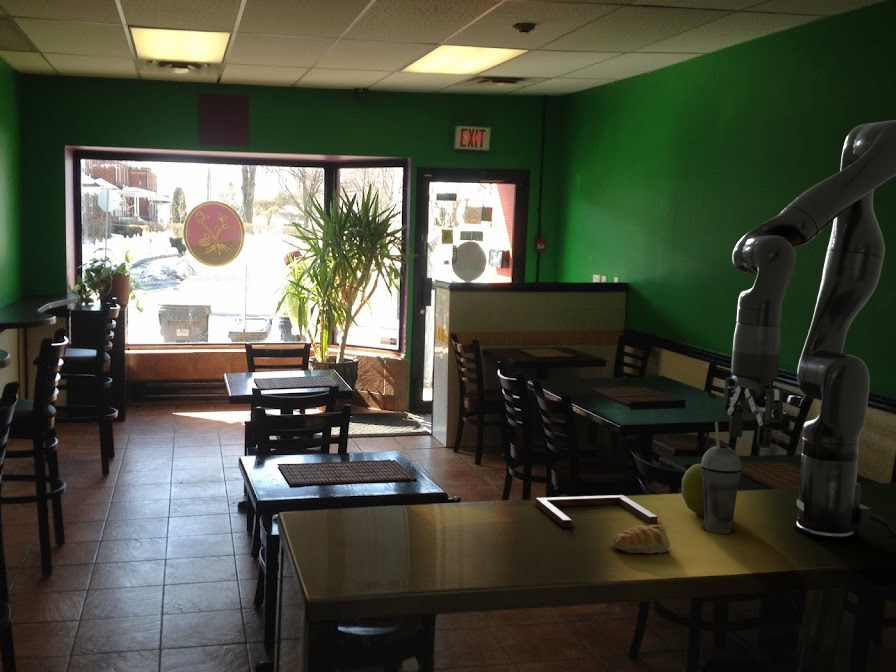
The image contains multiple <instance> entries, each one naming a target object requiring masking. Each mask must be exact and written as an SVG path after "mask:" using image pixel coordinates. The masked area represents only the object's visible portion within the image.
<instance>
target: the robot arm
mask: <svg viewBox="0 0 896 672" xmlns="http://www.w3.org/2000/svg"><path fill="white" fill-rule="evenodd" d="M839 170H840V171H838V172H837V173H834V174H832V175H831V176H829V177H827V178H824V180H822V181H820V182H818V183H815V184H813V186H811V187H809V188H808V189H806V190H805V191H804V192H802V193H801V194H799V195H798V196H797V197H796V198H795V199H793V201H791V202H790V203H789V204H788V205H787V206H786V207H785V208H783V210H781V212H780V213H779V214H777V215H776V216H774V217H772V218H770V219H768V220H766V221H765V222H763V223H760V225H758V226H756V227H755V228H753V229H752V230H750V231H749V232H747V233H746V234H745V235H743V236H742V237H741V238H740V239H739V241H738V242H737V243H736V244H735V246H734V248H733V251H732V263H733V265H734V267H735V269H736V270H737V271H738V272H740V273H741V274H744V275H747V276H756V278H755V280H754V284H753V286H752V288H749V289H745V290H743V291H742V292H740V293H739V296H738V301H737V310H736V311H737V312H736V323H735V330H734V334H733V342H732V354H731V355H732V357H731V368H730V369H731V371H730V373H731V376H734V377H726V378H725V381H724V389H723V390H724V391H723V397H722V398H723V399H722V410H723V411H727V415H728V416H729V423H728V424H729V425H728V436H729V437H731V438H741V437H742V436H743V431H744V429H743V428H744V414H745V412H746V411H747V409H750V410H751V413H752V415H755V417H756V420H757V423H758V425H757V433H756V447H757V448H760V449H769V448H770V447H771V444H772V437H773V436H772V435H773V428H774V427H775V426H776V425H777V426H778V425H782V423H783V413H784V390H783V388H772V381H773V380H776V379H778V376H779V365H780V364H779V363H780V351H781V319H782V303H783V301H784V298H785V295H786V293H787V290H788V287H789V285H790V281H791V279H792V276H793V274H794V270H795V267H796V251H795V248H797V247H802V246H804V245H806V244H808V243H810V242H811V241H812V240H813V239H815V237H817V236H818V235H819V234H820V233H821V232H823V230H824V229H826V227H827V226H829V225H830V224H831V223H832V222H833V223H832V229H831V234H830V238H829V242H828V246H827V250H826V255H825V259H824V265H823V270H822V275H821V276H822V277H821V282H820V286H819V291H818V295H817V299H816V304H815V307H814V313H813V316H812V320H811V324H810V327H809V330H808V334H807V337H806V338H805V343H804V346H803V349H802V352H801V355H800V358H799V362H798V366H797V372H796V381H797V385H798V388H799V390H800V392H802V394H803V395H804V396H806V397H808V398H810V399H813V400H817V401H821V402H820V408H819V409H820V410H819V413H818V416H817V417H815V418H813V419H808V420H806V421H805V422H804V423H803V426H802V439H801V456H800V457H801V458H800V472H799V487H798V489H799V491H798V498H796V507H797V520H796V527H795V528H796V530H798V531H799V532H801V533H803V534H804V535H808V536H811V537H814V538H820V539H826V540H839V541H840V540H849V539H852V538H853V537H858V536H859V526H871V520H873V521H876V522H878V523H879V524H881V525H882V526H884V528H886V529H887V531H888V532H889V533H890V534H891V535H893V536H894V537H896V530H895V529H894V527H892V525H891V524H890V523H889V522H888V521H887V520H885V519H884V518H882V517H879V516H878V515H875V514H873V513H872V508H871V507H869V506H866V505H863V504H861V492H862V485H861V483H859V482H857V477H858V461H859V446H860V445H859V443H860V435H861V433H862V431H863V429H864V427H865V424H866V420H867V419H866V418H867V412H868V411H867V410H868V404H869V403H868V402H869V396H870V385H871V383H870V382H871V381H870V374H869V373H870V372H869V368H868V366H867V364H866V363H865V361H863V360H862V359H861V358H860V357H859V356H856V355H852V354H848V353H844V352H843V351H844V346H845V341H846V337H847V334H848V332H849V329H850V326H851V324H852V323H853V321H854V320H855V318H856V317H857V315H858V314H859V312H860V311H861V310H862V309H863V307H864V306H865V305H866V303H867V302H868V301H869V300H870V298H871V297H872V295H873V294H874V292H875V291H876V288H877V286H878V284H879V281H880V278H881V273H882V268H883V263H884V258H885V253H886V245H885V240H884V236H883V233H882V230H881V227H880V225H879V221H878V220H877V216H876V213H875V210H874V194H875V193H874V192H875V190H876V189H877V188H878V187H880V186H881V185H883V184H884V183H886V182H887V181H889V180H891V179H892V178H894V177H896V119H892V120H891V119H890V120H883V121H877V122H869V123H862V124H859V125H857V126H855V127H854V128H852V129H851V130H850V131H849V133H848V135H847V136H846V138H845V141H844V144H843V148H842V153H841V160H840V169H839ZM730 398H731V399H730ZM774 411H775V416H774V413H773V412H774Z"/></svg>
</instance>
